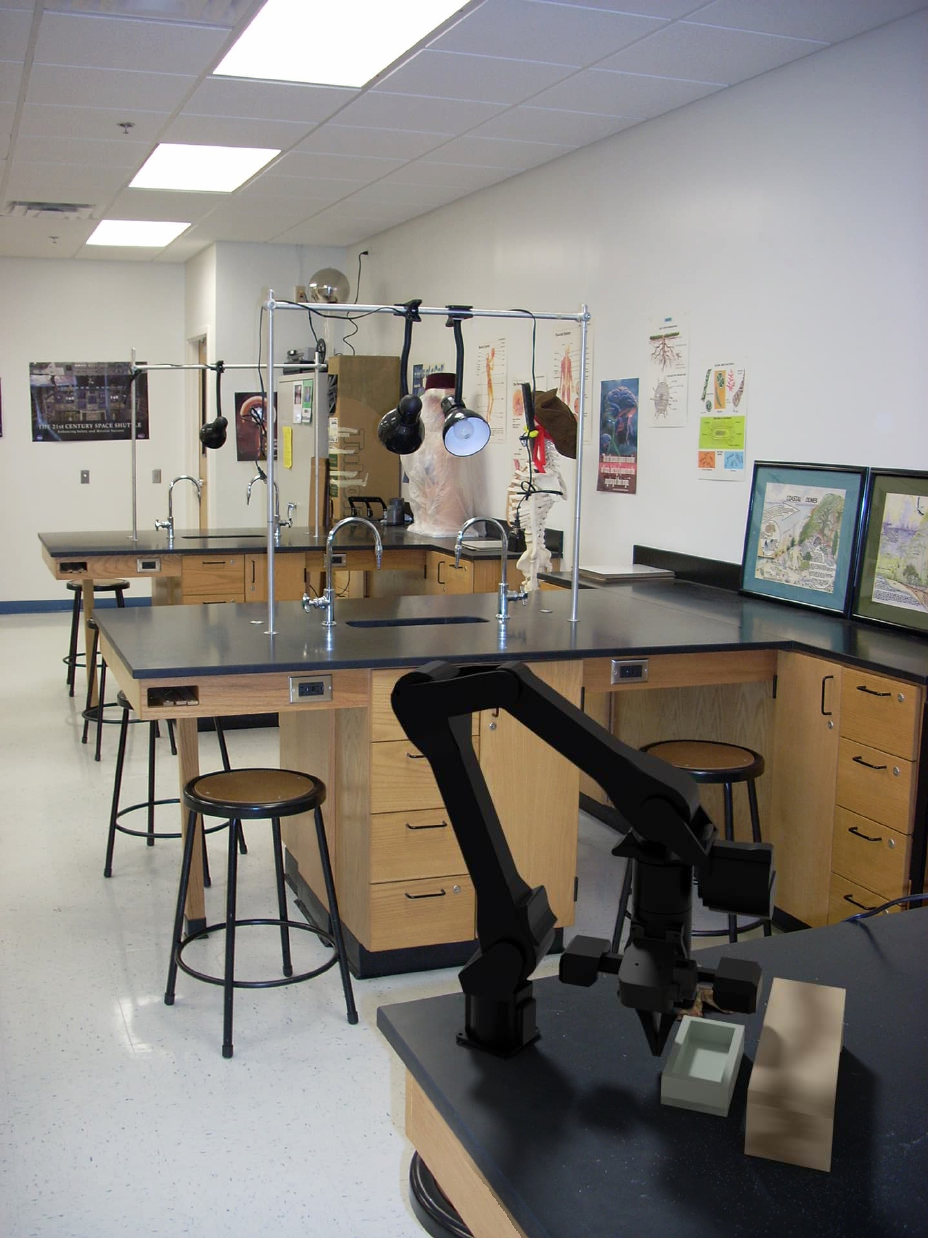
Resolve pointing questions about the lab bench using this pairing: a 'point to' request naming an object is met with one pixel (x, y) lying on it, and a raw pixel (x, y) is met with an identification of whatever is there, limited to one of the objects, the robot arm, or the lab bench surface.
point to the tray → (703, 1066)
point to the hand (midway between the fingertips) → (657, 1055)
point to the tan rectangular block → (796, 1075)
